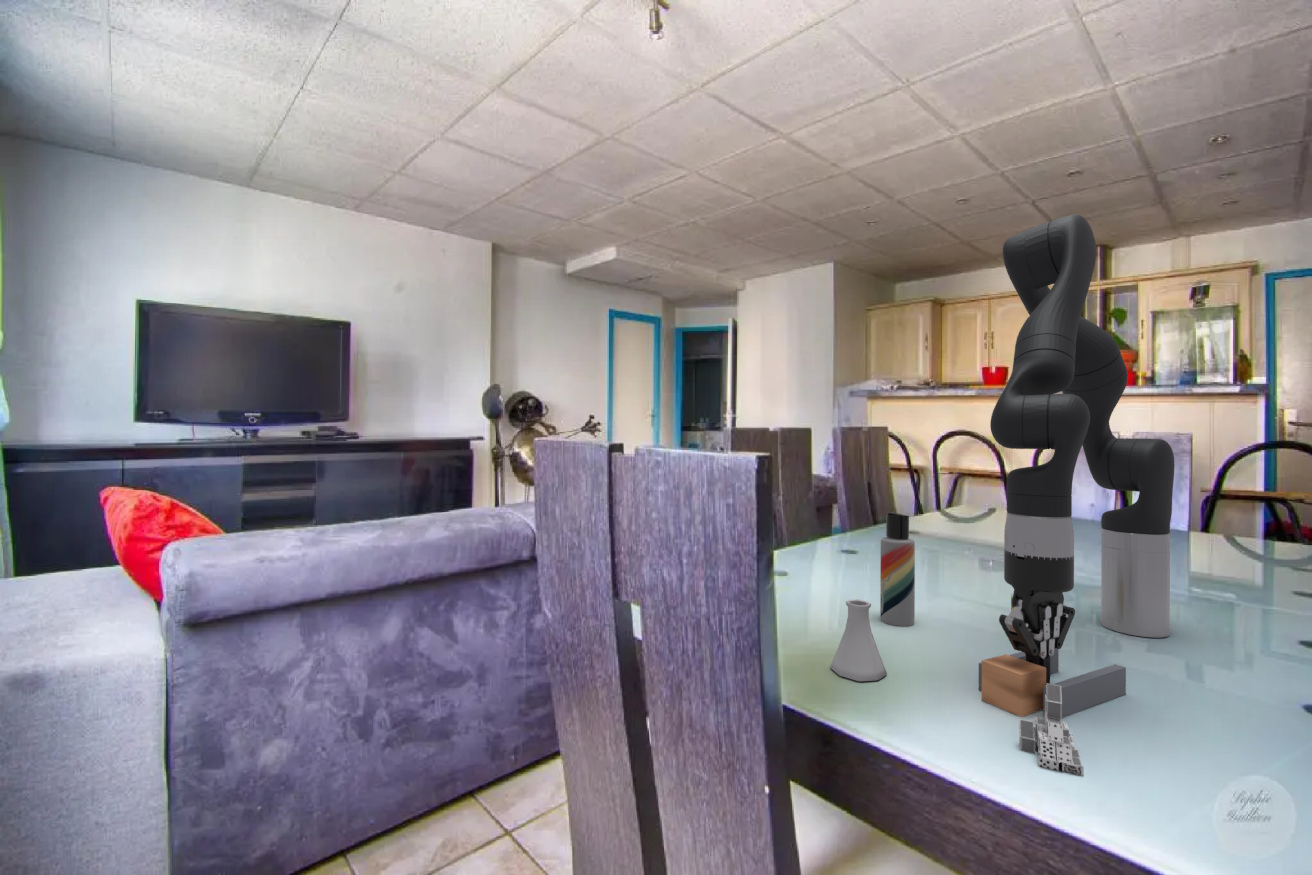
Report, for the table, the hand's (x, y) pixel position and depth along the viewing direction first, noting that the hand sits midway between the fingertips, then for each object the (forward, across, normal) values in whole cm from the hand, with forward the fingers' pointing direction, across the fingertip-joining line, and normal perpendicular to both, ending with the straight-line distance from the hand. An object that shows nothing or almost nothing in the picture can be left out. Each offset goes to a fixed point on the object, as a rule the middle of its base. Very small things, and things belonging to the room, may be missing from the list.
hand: (1037, 683), depth 75 cm
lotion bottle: (+2, -8, -29) cm, 30 cm away
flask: (+2, +15, -16) cm, 22 cm away
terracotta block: (+2, +5, 0) cm, 5 cm away
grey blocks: (+2, -3, 0) cm, 4 cm away
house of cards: (+2, +13, +7) cm, 15 cm away
